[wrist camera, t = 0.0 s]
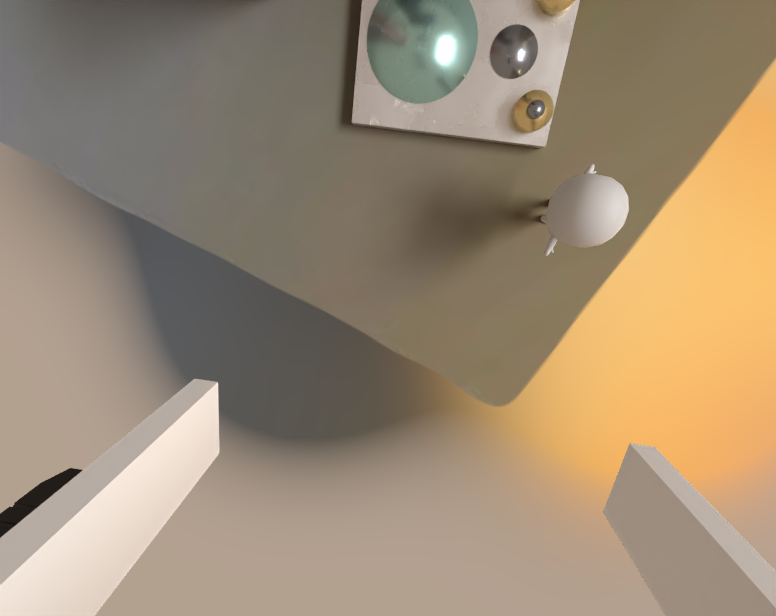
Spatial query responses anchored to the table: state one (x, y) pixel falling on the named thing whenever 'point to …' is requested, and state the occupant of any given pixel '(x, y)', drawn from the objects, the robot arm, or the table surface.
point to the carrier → (462, 67)
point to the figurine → (586, 211)
